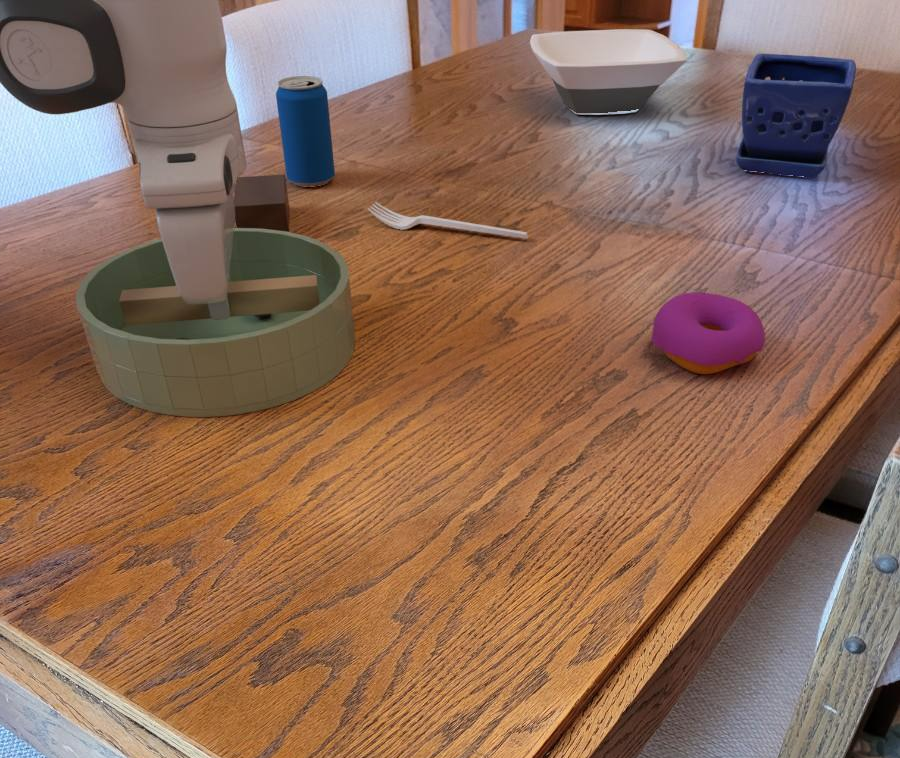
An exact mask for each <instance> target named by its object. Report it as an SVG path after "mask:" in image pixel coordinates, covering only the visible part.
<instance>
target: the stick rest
mask: <svg viewBox="0 0 900 758" xmlns="http://www.w3.org/2000/svg"><path fill="white" fill-rule="evenodd" d="M286 179H287V177H286V173H285V174H283V173H282V174H270V175H269V174H268V175H252V176H238V178H237V180H236V182H235V187H236V188H235V191H234V195H233V200H234V206H235V227H236V228H259V229H269V230H278V231H286V232H291V231H290V229H291V228H290V229H289V223H290V202H289V194H288V187H287V180H286Z"/></svg>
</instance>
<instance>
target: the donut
mask: <svg viewBox="0 0 900 758" xmlns="http://www.w3.org/2000/svg"><path fill="white" fill-rule="evenodd" d="M763 325H764V324H763V322H762V320H761V319H760V316H759V315H758V314H757V313H756V311H755V310H754V309H753V308H752V307H750V306H749V305H748V304H746V303H744V302H742V301H740V300H738V299H736V298H733V297H729V296H725V295H721V294H716V293H709V292H694V291H693V292H685V293H681V294H679V295H676V296H674V297H672V298H670V299H669V300H667V301H666V302H665V303H664V304H663V305H662V306H661V307H660V308H659V310H658V312H657V313H656V314H655V317H654V320H653V325H652V332H651V341H652V343H653V345H654V346H655V347H657V348H658V349H660V350H661V352H663V354H664V355H665V356H666V357H667V358H668V359H670V360H671V361H672V362H673V363H675V364H677V365H678V366H680V367H681V368H683V369H685V370H687V371H688V372H691V373H694V374H699V375H711V374H716V373H719V372H722V371H725V370H727V369H730V368H732V367H735V366H739V365H742V364H745V363H748V362H750V361H751V360H753V359H754V358H755V357H756V354H757V353H758V352H762V351H763V348H764V346H765V341H766V340H765V339H766V333H765V328H764V326H763Z"/></svg>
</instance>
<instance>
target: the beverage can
mask: <svg viewBox="0 0 900 758" xmlns="http://www.w3.org/2000/svg"><path fill="white" fill-rule="evenodd" d="M277 86H278V87H277V90H276V92H275V99H276V106H277V114H278V121H279V129H280V137H281V144H282V153H283V159H284V160H283V161H284V167H285V177H286V179H287V180H288V181H289V182H291V183H292V184H293V183H294V184H296V185H299V186H307V187H310V186H319V185H323V184H326V183H328V182H329V181H330V182H331V180H333V179H334V178H335V176H336V171H335V161H334V150H333V140H332V130H331V120H330V109H329V99H328V91H327V89H326V87H325V86H324V85H323V79H322V78H320V77H317V76H311V75H296V76H290V77H284V78H282V79H280V80H279V81H277ZM330 182H329V183H330ZM329 183H328V184H329ZM294 184H293V185H294ZM296 185H295V186H296ZM326 185H327V184H326Z"/></svg>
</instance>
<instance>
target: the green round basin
mask: <svg viewBox="0 0 900 758" xmlns="http://www.w3.org/2000/svg"><path fill="white" fill-rule="evenodd" d="M310 275H316V276H317V282H318V290H319V298H320V304H319V305H318V306H316V307H315V308H313V309H312V310H310V311H298V312H285V313H273V314H271V315H270V316H268V317H265V318H259V317H256V316H254V315H248V316H236V317H229V318H228V319H222V320H214V319H212V318H211V319H199V320H186V321H174V322H162V323H149V324H137V325H126V324H125V321H124V317H123V314H122V310H121V307H120V303H119V300H120V296H121V293H122V290H130V289H143V288H156V287H169V286H176V283H175V280H174V277H173V274H172V271H171V268H170V265H169V261H168V258H167V255H166V252H165V249H164V245H163V242H162V239H161V238H157V239H153V240H150V241H147V242H143V243H142V244H139V245H135V246H132V247H130V248H127V249H126V250H123V251H121V252H119V253H117V254H115V255H113V256H111V257H109V258H107V259H106V260H104V261H103V262H101V263H100V264H98V265H97V266H96V267H95V268H93V269H92V270H91V271H90V272H89V273H88V274H87V275H86V276H85V278H83V279H82V280H81V282H80V283H79V286H78V288H77V292H76V294H75V303H76V308H77V309H76V310H77V313H78V316H79V319H80V322H81V325H82V329H83V331H84V335H85V339H86V341H87V345H88V346H89V351H90V353H91V357H92V360H93V364H94V367H95V370H96V373H97V374H98V376H99V379H100V381H101V383H102V385H103V386H104V387H105V388H106V390H107V391H108V392H109V393H111V394H112V395H113V396H114V397H115V398H117V399H119V400H120V401H122V402H124V403H125V404H128V405H130V406H132V407H134V408H137V409H141V410H144V411H147V412H151V413H156V414H160V415H161V414H162V415H166V416H175V417H185V418H187V417H188V418H215V417H216V418H217V417H228V416H235V415H236V416H237V415H243V414H249V413H250V414H251V413H254V412H255V413H256V412H259V411H263V410H267V409H271V408H275V407H278V406H281V405H284V404H287V403H290V402H294V401H296V400H298V399H301V398H303V397H305V396H307V395H309V394H311V393H313V392H315V391H317V390H318V389H321V388H322V387H324V386H325V385H326V384H329V382H331V381H333V379H335V378H336V377H337V376H338V375H339V374H341V372H342V371H343V370H344V369H345V368H346V367H347V365H349V362H350V360H351V359H352V358H353V355H354V351H355V349H356V334H355V323H354V312H353V301H352V291H351V290H352V289H351V279H350V271H349V264H348V263H347V261H346V260H345V259H344V257H343V256H342V254H341V253H340V252H339V251H337V250H336V249H334V248H333V247H332V246H330V245H328V244H326V243H325V242H322V241H321V240H317V239H315V238H312V237H311V236H307V235H303V234H299V233H296V232H291V231H290V232H286V231H278V230H269V229H259V228H237V227H234V233H233V243H232V252H231V261H230V280H231V282H233V281H246V280H259V279H272V278H285V277H298V276H310ZM178 338H188V339H190V340H179V339H178Z"/></svg>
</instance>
